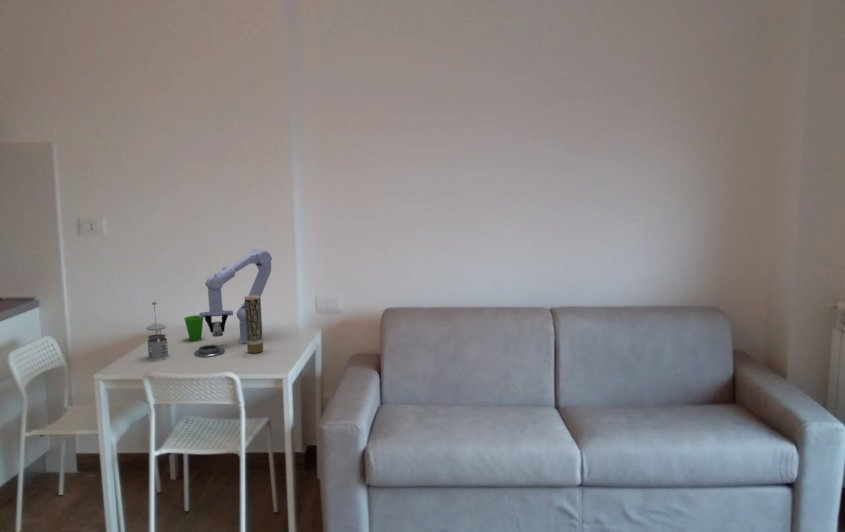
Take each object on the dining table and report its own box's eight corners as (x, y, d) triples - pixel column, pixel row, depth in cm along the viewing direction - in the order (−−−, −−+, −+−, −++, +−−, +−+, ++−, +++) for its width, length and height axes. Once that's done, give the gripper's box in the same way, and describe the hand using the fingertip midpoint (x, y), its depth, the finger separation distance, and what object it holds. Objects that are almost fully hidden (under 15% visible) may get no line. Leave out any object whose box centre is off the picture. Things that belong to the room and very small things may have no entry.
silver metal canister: (223, 333, 295) (222, 321, 294) (222, 336, 290) (221, 323, 290) (212, 334, 294) (212, 321, 293) (211, 337, 289) (211, 324, 289)
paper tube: (259, 354, 281) (256, 298, 277) (244, 353, 282) (241, 298, 279) (265, 349, 288) (262, 295, 284) (251, 349, 289) (248, 295, 285)
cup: (208, 337, 310) (207, 315, 308) (200, 342, 301) (198, 319, 299) (190, 337, 311) (189, 315, 309) (182, 342, 302) (180, 319, 300)
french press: (144, 362, 272) (140, 304, 268) (148, 354, 283) (144, 299, 279) (169, 360, 274) (165, 303, 270) (172, 352, 285) (168, 297, 281)
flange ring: (225, 348, 291) (225, 342, 291) (223, 356, 279) (223, 350, 278) (196, 350, 289) (195, 344, 288) (192, 358, 276) (191, 352, 276)
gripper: (232, 299, 295) (234, 328, 297) (199, 301, 292) (202, 330, 294) (231, 302, 288) (233, 332, 291) (197, 304, 285) (200, 334, 288)
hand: (217, 331), depth 292 cm, fingers closed on silver metal canister, 5 cm apart
